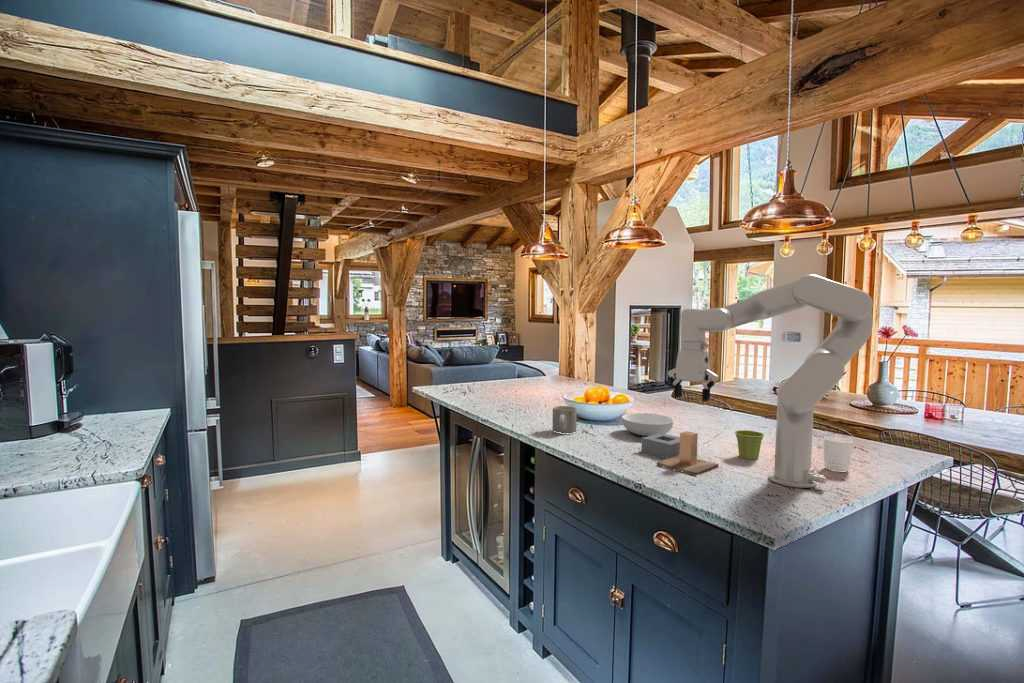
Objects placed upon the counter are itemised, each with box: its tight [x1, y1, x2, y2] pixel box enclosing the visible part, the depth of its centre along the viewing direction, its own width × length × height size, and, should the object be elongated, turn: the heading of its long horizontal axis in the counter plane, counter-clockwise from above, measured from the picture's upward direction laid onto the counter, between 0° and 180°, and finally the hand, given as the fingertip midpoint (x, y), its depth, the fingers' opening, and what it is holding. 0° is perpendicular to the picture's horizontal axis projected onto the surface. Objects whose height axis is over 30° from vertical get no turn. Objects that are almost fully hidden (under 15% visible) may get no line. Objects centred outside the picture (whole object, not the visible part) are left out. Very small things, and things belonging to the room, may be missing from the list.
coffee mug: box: [552, 405, 577, 433], centre depth 211 cm, size 13×10×10 cm
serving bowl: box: [621, 412, 675, 437], centre depth 209 cm, size 21×21×7 cm
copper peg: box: [679, 431, 699, 466], centre depth 166 cm, size 4×4×10 cm
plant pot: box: [734, 429, 765, 460], centre depth 177 cm, size 9×9×9 cm
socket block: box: [641, 433, 680, 459], centre depth 182 cm, size 12×12×5 cm
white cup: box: [823, 435, 853, 471], centre depth 164 cm, size 8×8×10 cm
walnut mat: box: [656, 455, 719, 476], centre depth 166 cm, size 14×14×1 cm
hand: (691, 398), depth 165 cm, fingers open, 9 cm apart
